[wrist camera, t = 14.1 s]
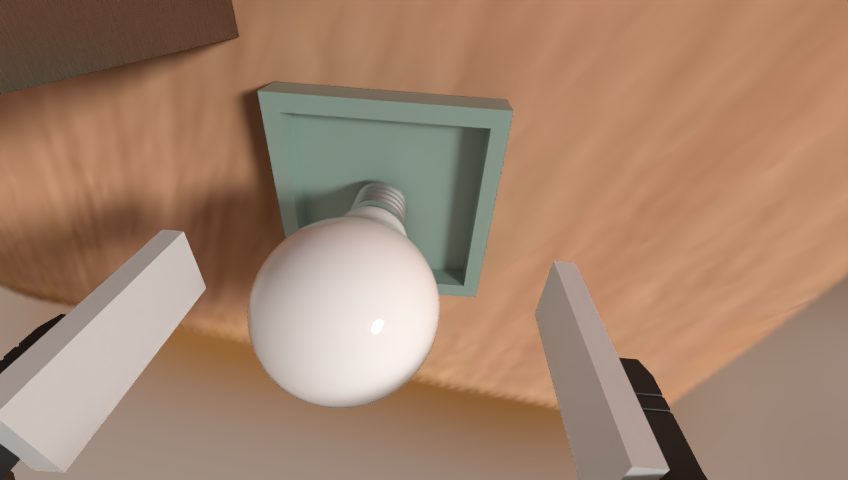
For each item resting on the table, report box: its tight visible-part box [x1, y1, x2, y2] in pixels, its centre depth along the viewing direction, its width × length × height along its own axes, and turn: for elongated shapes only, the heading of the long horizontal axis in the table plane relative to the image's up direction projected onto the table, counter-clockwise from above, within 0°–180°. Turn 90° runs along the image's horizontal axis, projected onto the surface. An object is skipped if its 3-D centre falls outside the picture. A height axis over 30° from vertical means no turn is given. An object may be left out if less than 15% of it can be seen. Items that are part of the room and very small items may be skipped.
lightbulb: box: [247, 182, 440, 408], centre depth 14 cm, size 6×6×11 cm
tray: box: [257, 82, 514, 297], centre depth 19 cm, size 11×11×2 cm
